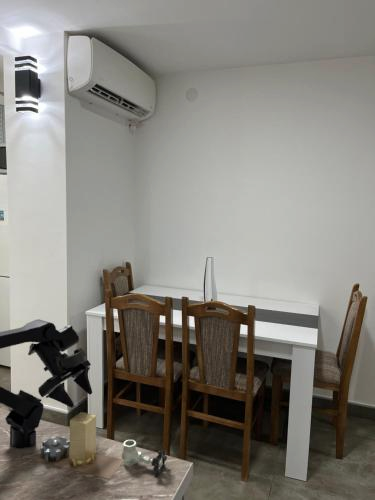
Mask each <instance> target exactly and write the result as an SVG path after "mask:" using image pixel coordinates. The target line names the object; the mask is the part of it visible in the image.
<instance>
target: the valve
mask: <svg viewBox="0 0 375 500" xmlns="http://www.w3.org/2000/svg"><path fill="white" fill-rule="evenodd" d="M121 459H123V463H122V465H123V466H126V467H128V468H129V467H132V466H134V465H136V464H138V465H140V464H142V463H144V464H147V465H151V466H152V467H153V469H152V472H153V473H154V474H153V475H154V478H159V476H160V474H161V473H162V472H163V470H164V469H166V466H167V465H166V464H165V463H166V461H167V459H168V456H167V451H166V450H164V449H163V450H161V451H160V450H159V451H158V453H157V456H156V457H153V459H152V457H151V456H148V455H144V452H143V451H139V450H138V451H137V441H136V440H134V439H127V440H125V441H123V449H122V452H121Z"/></svg>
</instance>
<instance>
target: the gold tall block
mask: <svg viewBox="0 0 375 500" xmlns="http://www.w3.org/2000/svg"><path fill="white" fill-rule="evenodd" d="M69 440H70V445H69V464H73V467H75V468H76V467H83V468H84V467H87V465H89V464H93V463H94V458H96V453H97V451H96V444H97V442H96V441H97V415H95V414H91V413H86V412H83V411H80V412H79V413H77V414H76V415H75V416H73V417H72V418H71V419H70V420H69Z"/></svg>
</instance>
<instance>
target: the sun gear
mask: <svg viewBox="0 0 375 500" xmlns="http://www.w3.org/2000/svg"><path fill="white" fill-rule="evenodd" d="M41 443H42V445H41V446H40V447H39V449H40V451H39V454H40V458H41V459H42V458H43V459H44V460H45V462H47V463H49V462H55V461H56V463H57V462H60V460H62V459H64V458H68V457H69V445H70V439H67V437H66V436H60V437H56V436H51V438H49V439H47V440H45V439H44V440H43V441H42V442H41ZM47 463H46V464H47Z"/></svg>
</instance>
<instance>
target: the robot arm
mask: <svg viewBox="0 0 375 500" xmlns="http://www.w3.org/2000/svg"><path fill="white" fill-rule="evenodd" d="M79 342H80V337H79V335H78V333H77V332H76V330H75V329H74V328H73V325H69V324H67V325H65V326H64V327H63V328H61V329H59V330H58V329H57V327H56V325H55V324H54V323H53V322H49V321H46V320H42V319H34V320H32V321H30V322H27V323H26V324H25V325H23V326H22V327H21V326H20V327H17V328H13V329H8V330H3V331H0V350H1V349H5V348H8V347H9V348H10V347H13V346H16V345H17V346H18V345H21V344H25V343H31V344H30V345H29V351H28V354H27V355H28V356H31V355H33V354H35V353H36V355H37V356H38V358H39V359H40V361H41V362H42V364H43V365H44V367H43V371H44V372H47V371H48V372H49V373H50V374H51V375H50V376H51V377H49V378H48V379H46V380H45V381H44V382H43V383H42V384H41V385H40V386H39V387H38V394H39V395H40V397H41V398H44V397H45V399H47V398H50V399H52V400H54V401H57V402H59V403H61V404H63V405H64V406H66V407H69V408H71V409H72V408H73V407H74V406H75V403H74V402H73V400H72V398H71V397H70V395H69V394H68V392H67V390H66V387H65V381H66V380H68V379H69V378H72V379H73V382H74V383H75V384H76V385H78V386H79V387H80V388H81V389H82V390H83V391H85V393H87V394H88V395H90V396H91V395H92V394H93V388H92V386H91V383H90V380H89V370H90V369H91V368H90V366H91V365H92V364H91V362H90V361H89V359H85V357H86V355H87V354H86V352H85V350H83V348H81V347H79V348H77V349H74V350H73V353H72V354H71V355H68V354H67V353H65V351H67V350H68V349H71V347H74V346H76V345H77V344H78V343H79ZM62 352H64V353H62ZM41 398H38V397H36V396H34V395H33V394H30V392H26V391H24V390H22V389H20V390H19V391H18V393H14V392H12V391H10V390H8V389H6V388H5V387H2V386H0V404H1V405H4V406H5V407H7V408H8V409H9V410H10V411H9V413H8V414H7V415H6V417H5V419H4V420H5V422H6V424H7V425H9V444H10V445H11V446H12V447H13V448H14V449H19V450H20V449H29V448H30V449H31V448H32V447H33V446H35V445H36V444H37V431H36V429H37V428H39V425H40V422H41V420H42V416H43V413H44V406H45V405H44V403H43V402H42V401H43V400H42V399H41Z"/></svg>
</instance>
